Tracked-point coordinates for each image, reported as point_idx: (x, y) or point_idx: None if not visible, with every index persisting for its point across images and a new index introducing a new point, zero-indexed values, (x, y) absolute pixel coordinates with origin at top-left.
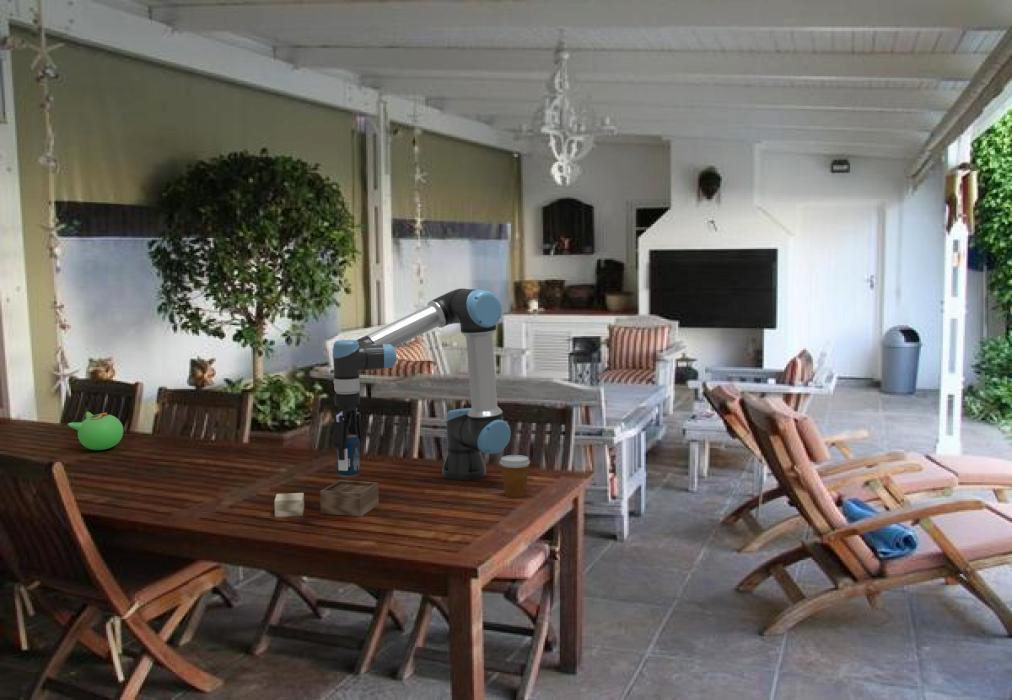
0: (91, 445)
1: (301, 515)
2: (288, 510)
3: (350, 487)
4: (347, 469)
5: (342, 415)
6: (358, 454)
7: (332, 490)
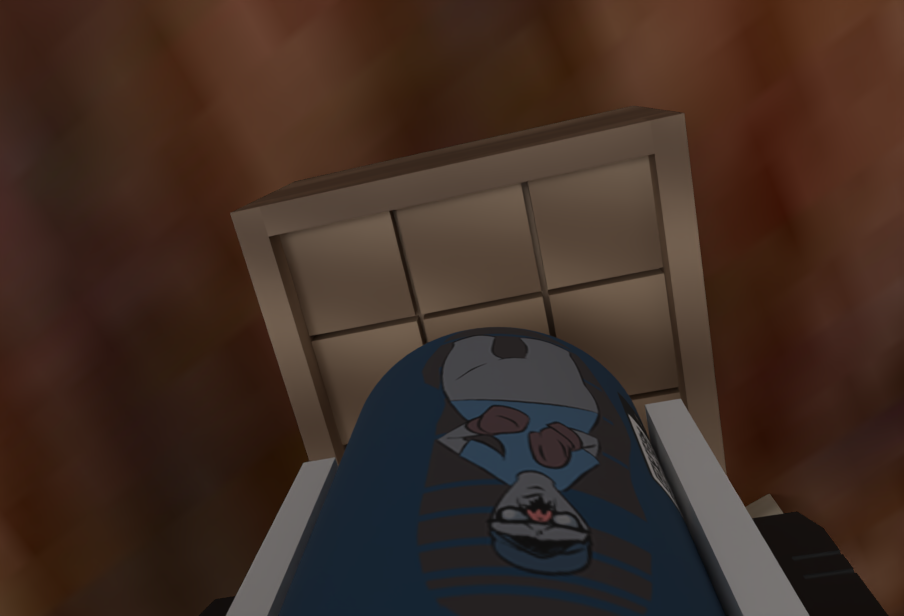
0: None
1: (772, 500)
2: None
3: None
4: (659, 408)
5: None
6: (470, 441)
7: None
